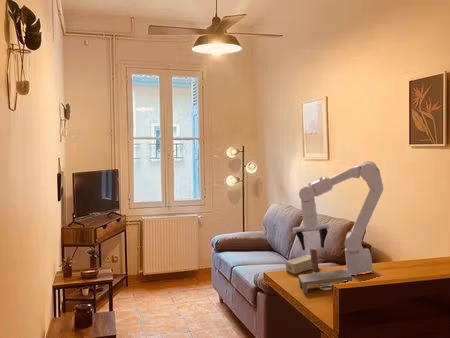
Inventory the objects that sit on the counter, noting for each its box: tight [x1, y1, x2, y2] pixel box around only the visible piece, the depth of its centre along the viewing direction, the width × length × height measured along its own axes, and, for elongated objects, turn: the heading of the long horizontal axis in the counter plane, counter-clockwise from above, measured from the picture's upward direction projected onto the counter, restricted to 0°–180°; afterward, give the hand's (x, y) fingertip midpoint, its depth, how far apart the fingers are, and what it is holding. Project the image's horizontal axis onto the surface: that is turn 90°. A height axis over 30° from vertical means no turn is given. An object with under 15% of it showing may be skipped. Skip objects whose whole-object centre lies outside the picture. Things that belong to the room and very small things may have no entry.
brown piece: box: [309, 246, 321, 273], centre depth 171 cm, size 6×12×10 cm, turn 0°
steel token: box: [319, 282, 333, 291], centre depth 159 cm, size 5×5×1 cm
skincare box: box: [284, 254, 312, 275], centre depth 182 cm, size 6×4×12 cm
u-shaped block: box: [298, 268, 353, 294], centre depth 160 cm, size 18×8×4 cm, turn 90°
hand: (313, 248), depth 175 cm, fingers open, 7 cm apart
